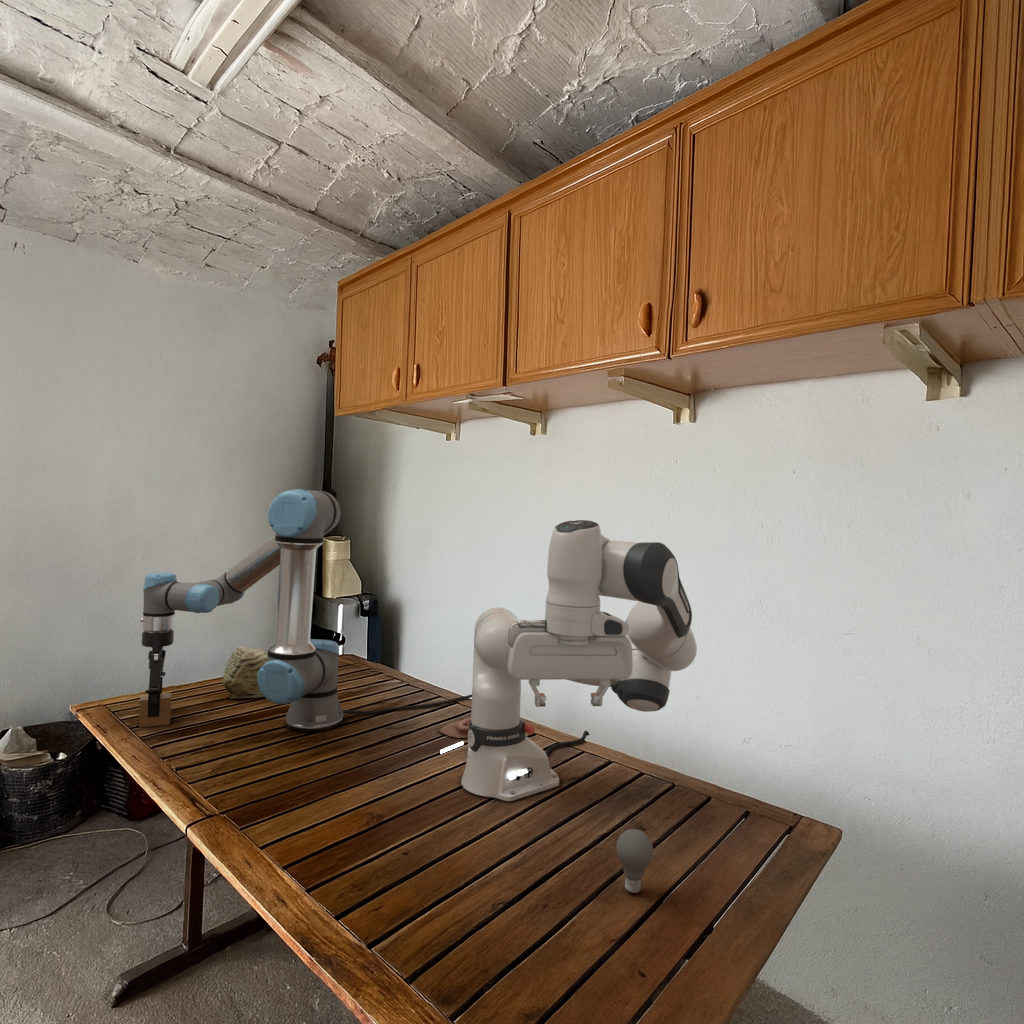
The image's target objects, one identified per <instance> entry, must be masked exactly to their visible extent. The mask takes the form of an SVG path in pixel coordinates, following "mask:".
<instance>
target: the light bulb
mask: <svg viewBox="0 0 1024 1024" xmlns="http://www.w3.org/2000/svg"><path fill="white" fill-rule="evenodd" d="M615 849H616V854H617V857H618V859H619V861H620V863H621V865H622V867H623V873H624V874H623V875H624V876H625V878H624V888H625V890H627V891H628V892H630V893H634V894H635V893H639V892H640V891H641V889H642V887H641V886H642V879H643V877H644V875H645V871H646V868H647V867H648V866H649V864H650V863H651V861H652V859H653V855H654V847H653V843H652V841H651V838H649V836H648V835H647V834H646V833H645V832H643V831H642V830H641V829H636V828H629V829H627V830H625V831H623V832H622V833H621V834H620V835H619V837H618V839H617V841H616V847H615Z"/></svg>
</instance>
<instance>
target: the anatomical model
mask: <svg viewBox="0 0 1024 1024" xmlns="http://www.w3.org/2000/svg"><path fill="white" fill-rule="evenodd" d="M470 719H471V716H470V717H467V718H464V719H461V720H458V721H456V722H451V723H448V724H446V725H444V726H442V727H441V728H440V729H439V733H441V734H442V735H445V736H448V737H452V738H456V739H465V738H466V739H468V730H469V720H470Z"/></svg>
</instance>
